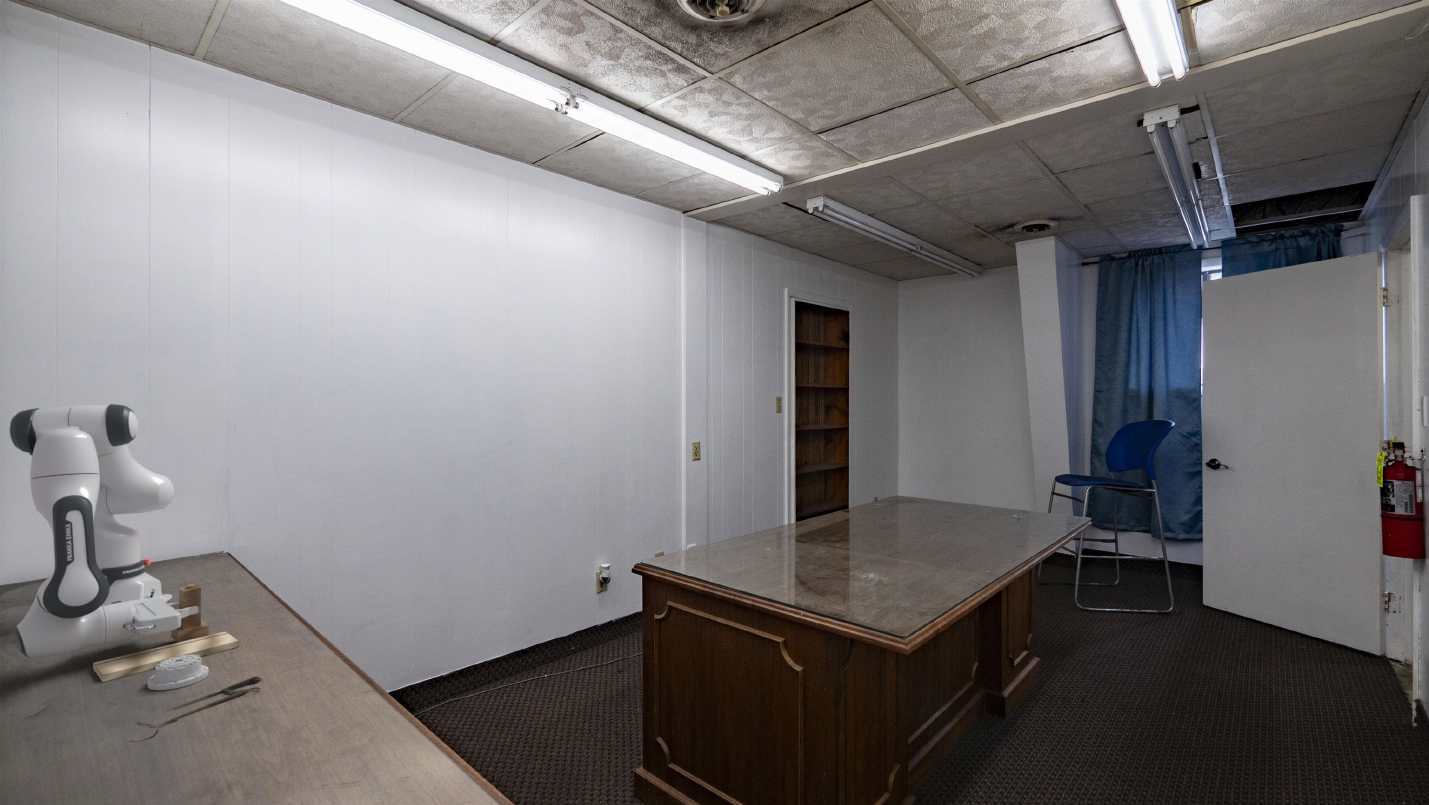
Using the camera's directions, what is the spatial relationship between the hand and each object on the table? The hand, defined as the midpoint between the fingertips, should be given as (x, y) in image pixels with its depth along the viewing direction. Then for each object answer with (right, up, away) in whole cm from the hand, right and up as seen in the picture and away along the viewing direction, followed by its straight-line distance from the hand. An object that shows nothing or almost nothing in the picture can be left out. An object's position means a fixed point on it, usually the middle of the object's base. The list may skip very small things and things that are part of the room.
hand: (194, 607), depth 157 cm
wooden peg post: (-1, -7, -1) cm, 7 cm away
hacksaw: (+30, -9, -35) cm, 47 cm away
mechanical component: (+15, -9, -23) cm, 29 cm away
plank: (+3, -8, -11) cm, 14 cm away
